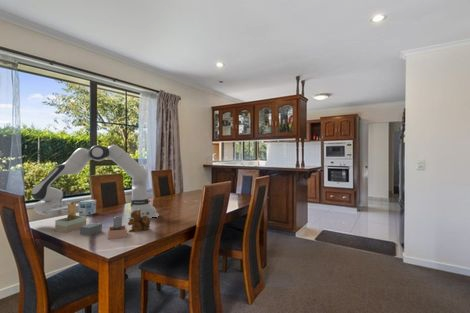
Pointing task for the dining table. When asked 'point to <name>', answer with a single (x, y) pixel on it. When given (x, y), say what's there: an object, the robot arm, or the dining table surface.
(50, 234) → the dining table surface
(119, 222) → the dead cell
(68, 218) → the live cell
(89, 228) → the cradle
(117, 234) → the pink square tray
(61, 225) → the trough
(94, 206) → the light bulb box
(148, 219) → the stuffed squirrel
